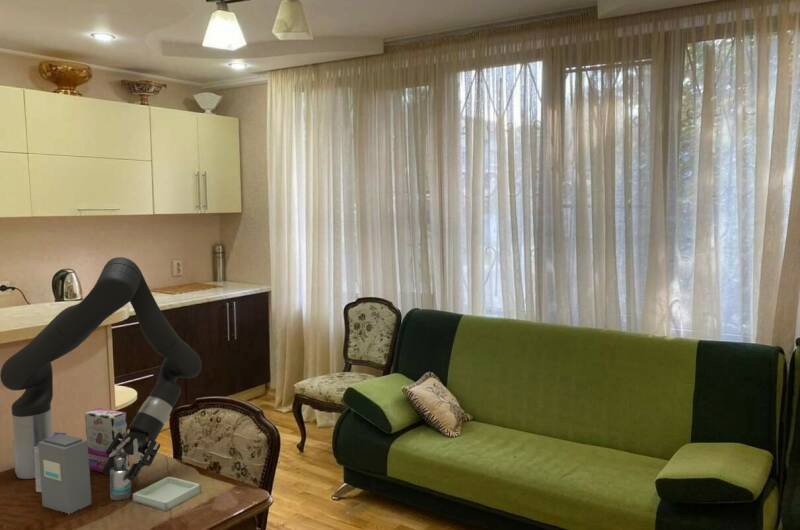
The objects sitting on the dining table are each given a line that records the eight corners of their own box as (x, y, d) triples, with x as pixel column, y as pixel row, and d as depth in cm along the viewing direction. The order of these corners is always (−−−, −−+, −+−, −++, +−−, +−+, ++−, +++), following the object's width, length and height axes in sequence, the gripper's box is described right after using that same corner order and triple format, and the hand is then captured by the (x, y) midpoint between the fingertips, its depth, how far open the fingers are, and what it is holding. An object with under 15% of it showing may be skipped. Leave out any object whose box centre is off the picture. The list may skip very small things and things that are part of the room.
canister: (105, 496, 162) (105, 458, 161) (123, 490, 166) (123, 452, 165) (117, 502, 159) (117, 463, 158) (135, 495, 163) (134, 456, 163)
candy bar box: (130, 469, 179) (127, 412, 178) (115, 476, 175) (112, 417, 173) (102, 463, 184) (99, 407, 183) (87, 470, 180) (83, 412, 178)
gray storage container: (41, 506, 158) (36, 440, 156) (65, 496, 164) (60, 432, 162) (67, 515, 153) (63, 447, 152) (91, 503, 159) (87, 438, 157)
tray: (133, 501, 160) (132, 493, 160) (169, 483, 170) (168, 476, 170) (166, 511, 154) (165, 503, 154) (201, 491, 164) (201, 484, 164)
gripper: (179, 428, 170) (146, 488, 161) (141, 421, 176) (107, 477, 167) (162, 414, 165) (127, 475, 156) (123, 407, 171) (87, 465, 162)
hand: (117, 476), depth 161 cm, fingers open, 8 cm apart
